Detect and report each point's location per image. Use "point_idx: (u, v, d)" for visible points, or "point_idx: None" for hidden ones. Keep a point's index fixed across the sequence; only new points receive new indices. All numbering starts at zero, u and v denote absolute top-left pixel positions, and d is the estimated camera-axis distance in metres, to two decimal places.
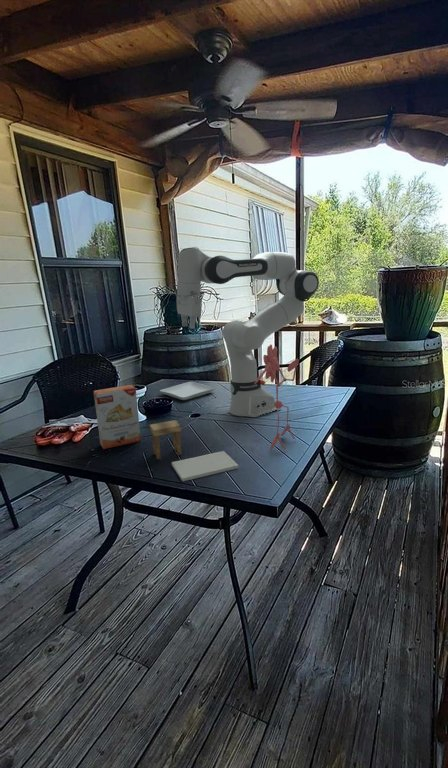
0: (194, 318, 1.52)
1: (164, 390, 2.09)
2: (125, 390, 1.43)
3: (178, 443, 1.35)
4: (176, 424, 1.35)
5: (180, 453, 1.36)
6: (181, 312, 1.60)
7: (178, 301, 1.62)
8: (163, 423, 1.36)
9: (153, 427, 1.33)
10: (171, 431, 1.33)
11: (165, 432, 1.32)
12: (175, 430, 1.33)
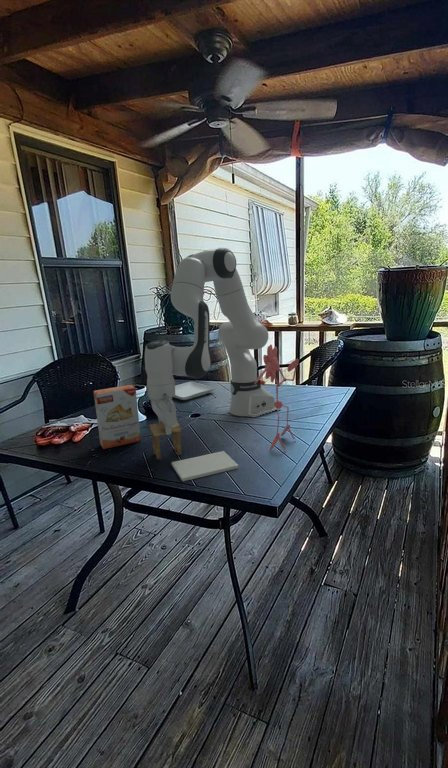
0: None
1: None
2: (125, 390, 1.43)
3: (178, 443, 1.35)
4: (176, 424, 1.35)
5: (180, 453, 1.36)
6: (156, 412, 1.36)
7: None
8: (163, 423, 1.36)
9: (153, 427, 1.33)
10: (171, 431, 1.33)
11: None
12: (175, 430, 1.33)
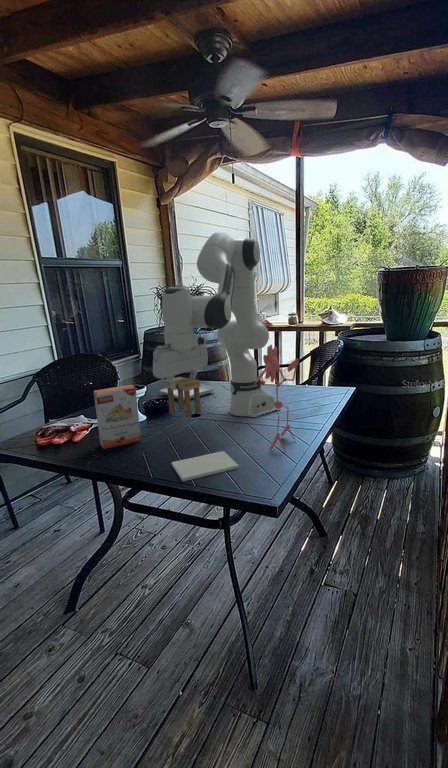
0: (169, 378, 1.19)
1: (164, 390, 2.09)
2: (125, 390, 1.43)
3: (185, 404, 1.21)
4: (187, 383, 1.21)
5: (187, 416, 1.22)
6: None
7: None
8: (186, 379, 1.25)
9: (173, 379, 1.26)
10: (178, 388, 1.21)
11: None
12: (182, 388, 1.20)
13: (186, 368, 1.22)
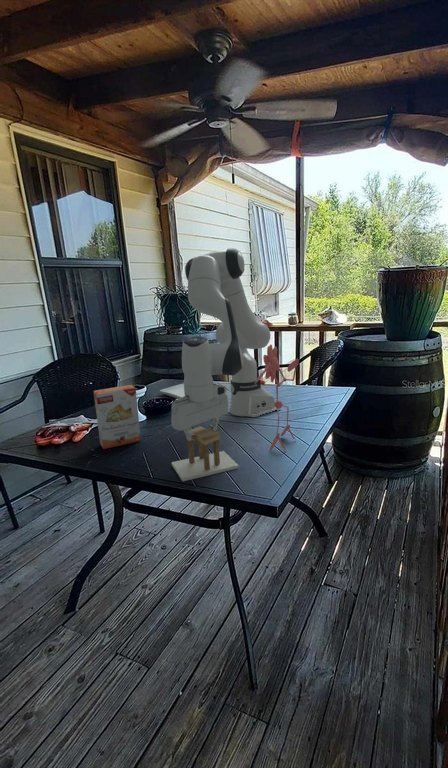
0: (185, 429, 1.18)
1: (164, 390, 2.09)
2: (125, 390, 1.43)
3: (204, 457, 1.21)
4: (206, 436, 1.20)
5: (205, 468, 1.22)
6: None
7: None
8: (206, 430, 1.25)
9: (193, 429, 1.27)
10: (197, 440, 1.21)
11: None
12: (200, 441, 1.20)
13: (205, 418, 1.21)
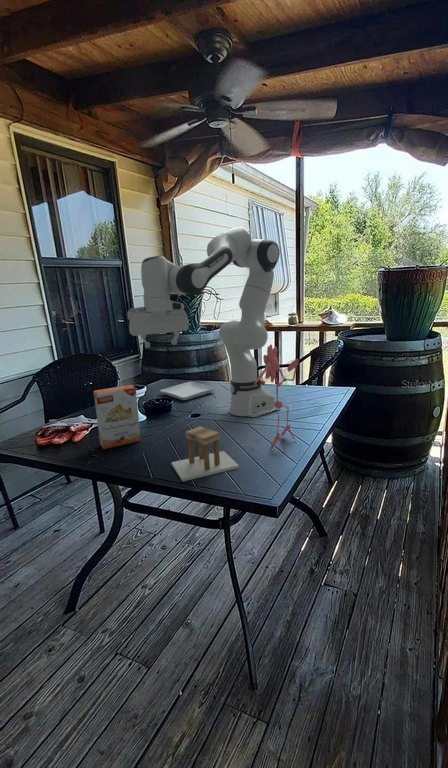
0: (141, 336, 1.37)
1: (164, 390, 2.09)
2: (125, 390, 1.43)
3: (204, 457, 1.21)
4: (206, 436, 1.20)
5: (205, 468, 1.22)
6: None
7: None
8: (206, 430, 1.25)
9: (193, 429, 1.27)
10: (197, 440, 1.21)
11: (193, 439, 1.23)
12: (200, 441, 1.20)
13: (161, 329, 1.38)
